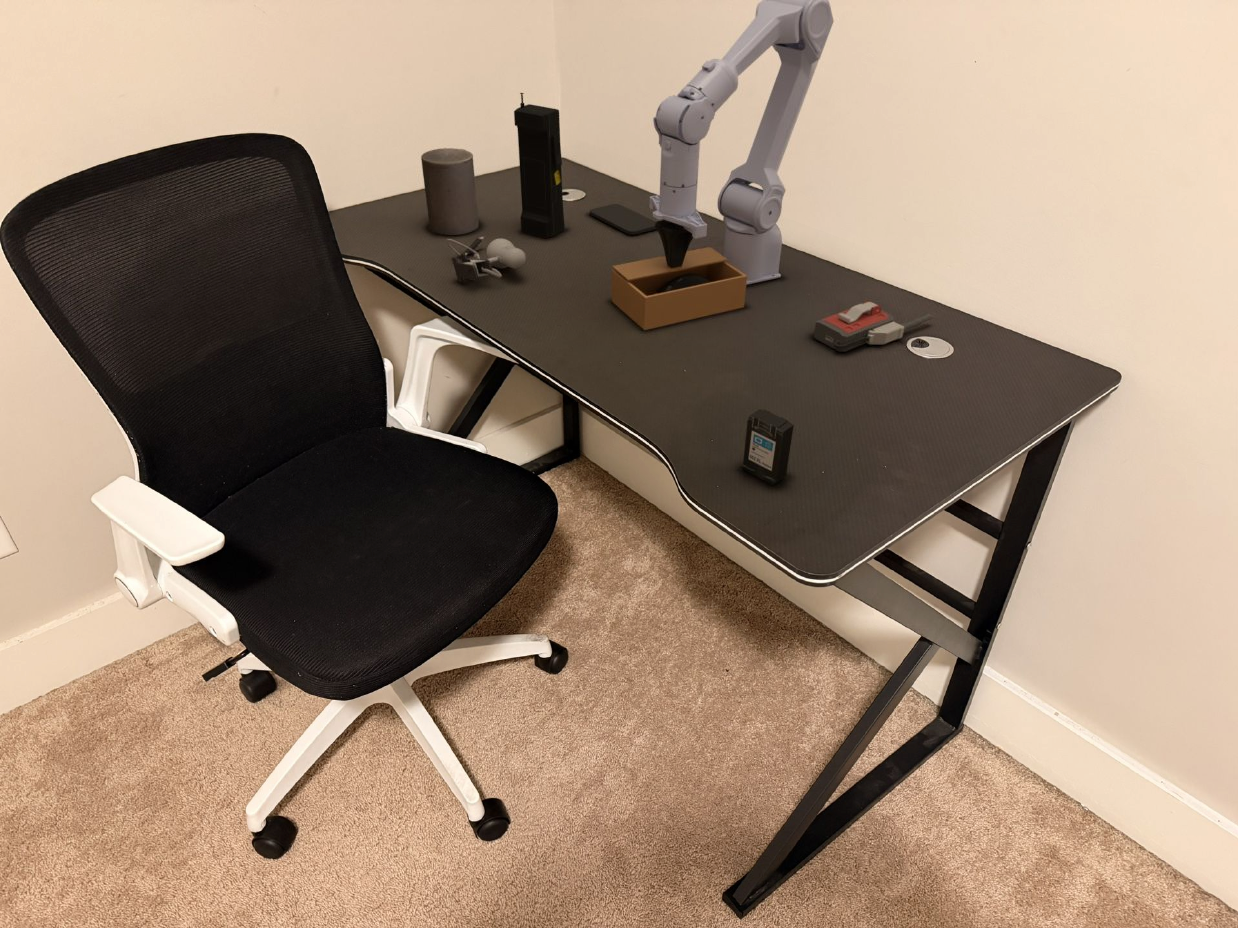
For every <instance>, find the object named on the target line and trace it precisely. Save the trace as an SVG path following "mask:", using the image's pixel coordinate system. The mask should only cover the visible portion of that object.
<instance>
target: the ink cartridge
mask: <svg viewBox="0 0 1238 928" xmlns="http://www.w3.org/2000/svg"><path fill="white" fill-rule="evenodd" d="M794 426H795V425H794V424H793V423H791V422H789V420H788V419H786V418H784V417H782V416H781V417H780V416H778V415H776V414H774V413H772V412H771V411H769V410H766V409H761V408H759V409H757V410H756V411H754V412H753V413H751V414H750V415H748V419H747V421H746V429H745V438H744V439H745V440H744V449H743V457H742V458H743V459H742V463H741V467H742V469H743V470H744V471H746V472H747V473H750V474H751V475H753V476H755V477H757V478H758V479H760V480H762V481H764V482H766V483H768V484H770V485H771V486H772V485H773V486H774V485H776V484H778V483H779V482H780V481H781V480H782V479H784V478H785V477H787V471H788V465H789V458H790V452H791V445H792V439H793V433H794Z"/></svg>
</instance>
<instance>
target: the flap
mask: <svg viewBox="0 0 1238 928" xmlns="http://www.w3.org/2000/svg"><path fill="white" fill-rule="evenodd" d="M724 261H728V259H727V258H725V257H724V256H723V255H722V254H721V253H720V252H718V251H717V250H715V249H713V247H711V246H707V247H701V248H697V249H692V250H687V252H686V255H685V258H684V261H683V264H682V266H681V267H676V268H670V267H669V266H668V265H667V262H666V257H665V255H661V256H656V257H652V258H651V257H650V258H647V259H641V260H637V261H631V262H627V263H621V264H616V265H612V266H611V268H612V270H616V271H617V272H618V273H619V274H620V275H622V276H623V277H624V278H625V279H626V280H627V281H631V280H636V279H641V278H646V277H651V276H656V275H661V274H665V273H670V272H675V271H680V270H685V269H690V268H695V267H699V266H704V265H709V264H714V263H719V262H724Z"/></svg>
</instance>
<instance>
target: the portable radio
mask: <svg viewBox="0 0 1238 928" xmlns="http://www.w3.org/2000/svg"><path fill="white" fill-rule="evenodd" d="M519 94H520V100H521V102H520V105H519V106H520V107H517V108H516V109H514V111H513V117H514V118H513V119H514V126H515V127H516V128H517V144H518V160H519V161H518V162H519V178H520V197H521V214H520V229H521V232H522V233H524V234H529V235H531V236H535V237H540V238H543V239H549V238H551V237H554V236H556V235H558V234H560V233H561V232H563V231H565V229H566V228H565V227H566V225H565V214H564V196H563V194H564V193H563V174H562V166H563V160H562V158H563V157H562V147H561V124H560V122H561V121H560V110H559V109H558V108H553V107H547V106H542V105H537V104H531V103H529V104H525V103H524V94H525V93H524V92H519Z"/></svg>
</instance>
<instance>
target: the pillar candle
mask: <svg viewBox="0 0 1238 928" xmlns="http://www.w3.org/2000/svg"><path fill="white" fill-rule="evenodd" d="M420 160H421V168H422V176H423V186H424V192H425V199H426V200H425V201H426V209H427V217H428V223H429V226H428V228H429V230H430V231H431V232H433V233H435V234H438V235H442V236H460V235H466V234H469V233H472V232H474V231H476V230H478V228H479V210H478V200H477V190H476V189H477V188H476V177H475V167H474V154H473V153H472V152H471V151H469V150H466V149H464V148H454V147H451V148H450V147H449V148H448V147H443V148H435V149H430V150H428V151H425V152H423V153H422V154H421V157H420Z"/></svg>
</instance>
